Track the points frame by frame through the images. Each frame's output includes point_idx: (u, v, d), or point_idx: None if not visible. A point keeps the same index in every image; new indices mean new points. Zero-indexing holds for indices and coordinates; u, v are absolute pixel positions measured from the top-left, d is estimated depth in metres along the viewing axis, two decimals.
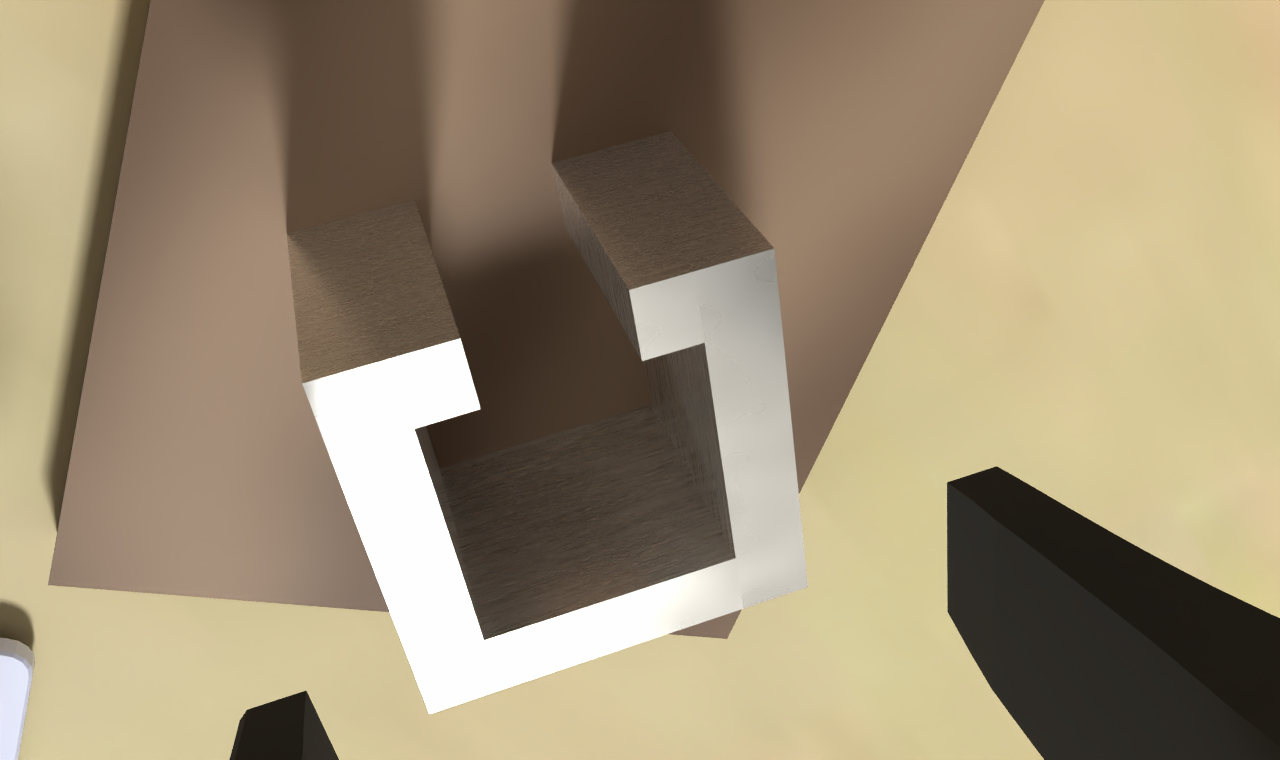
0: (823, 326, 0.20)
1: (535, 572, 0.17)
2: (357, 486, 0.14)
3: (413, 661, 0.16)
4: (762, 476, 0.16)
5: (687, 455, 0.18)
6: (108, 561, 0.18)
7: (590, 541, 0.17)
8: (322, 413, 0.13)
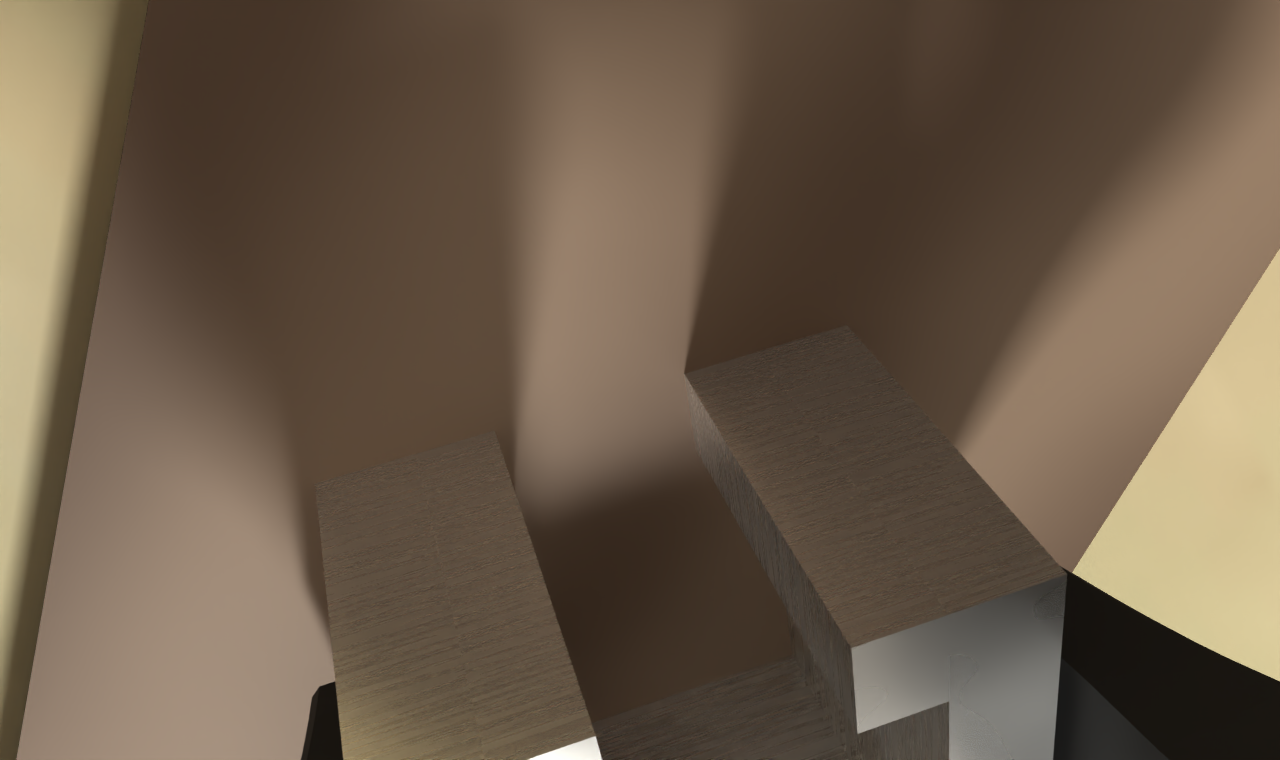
0: None
1: None
2: None
3: None
4: None
5: None
6: None
7: None
8: None
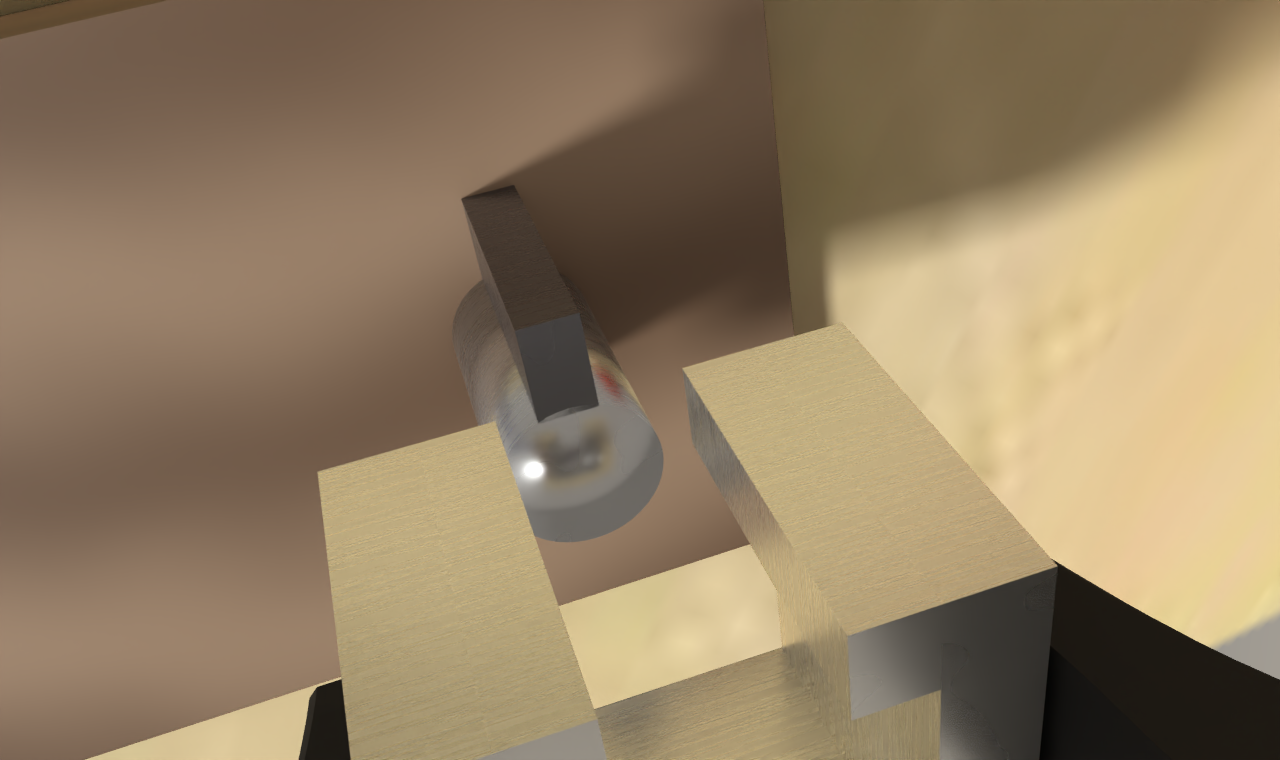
0: (32, 727, 0.20)
1: None
2: None
3: None
4: None
5: (850, 751, 0.13)
6: None
7: None
8: None
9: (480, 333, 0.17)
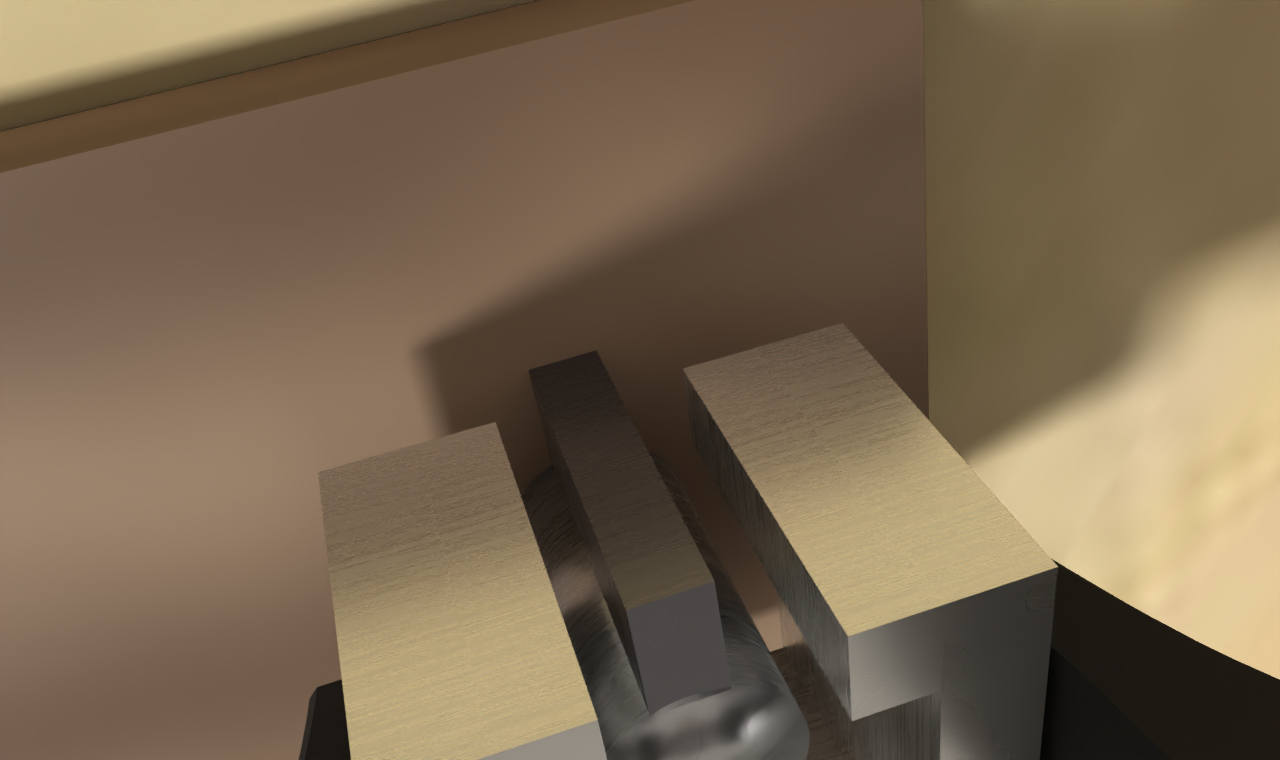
0: None
1: None
2: None
3: None
4: None
5: (850, 751, 0.13)
6: None
7: None
8: None
9: (554, 547, 0.13)
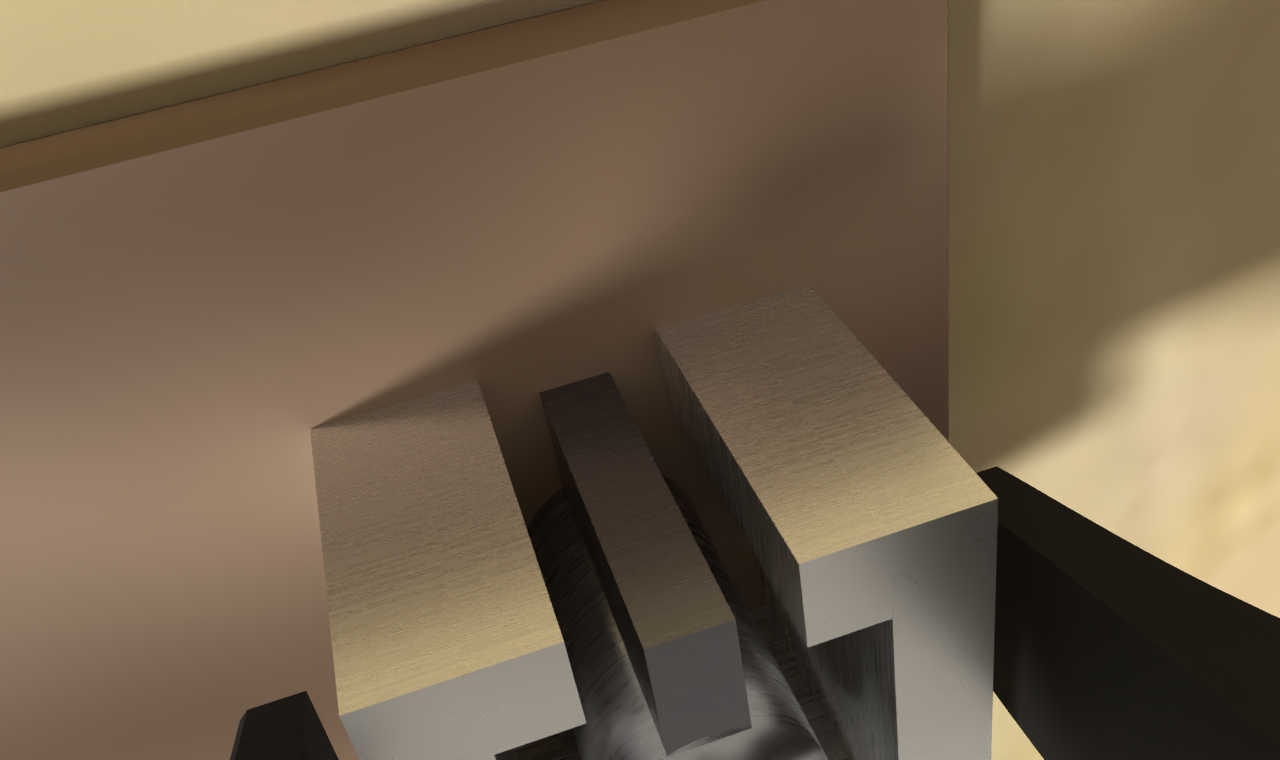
0: None
1: None
2: None
3: None
4: None
5: (824, 695, 0.14)
6: None
7: None
8: (367, 748, 0.09)
9: (566, 575, 0.13)
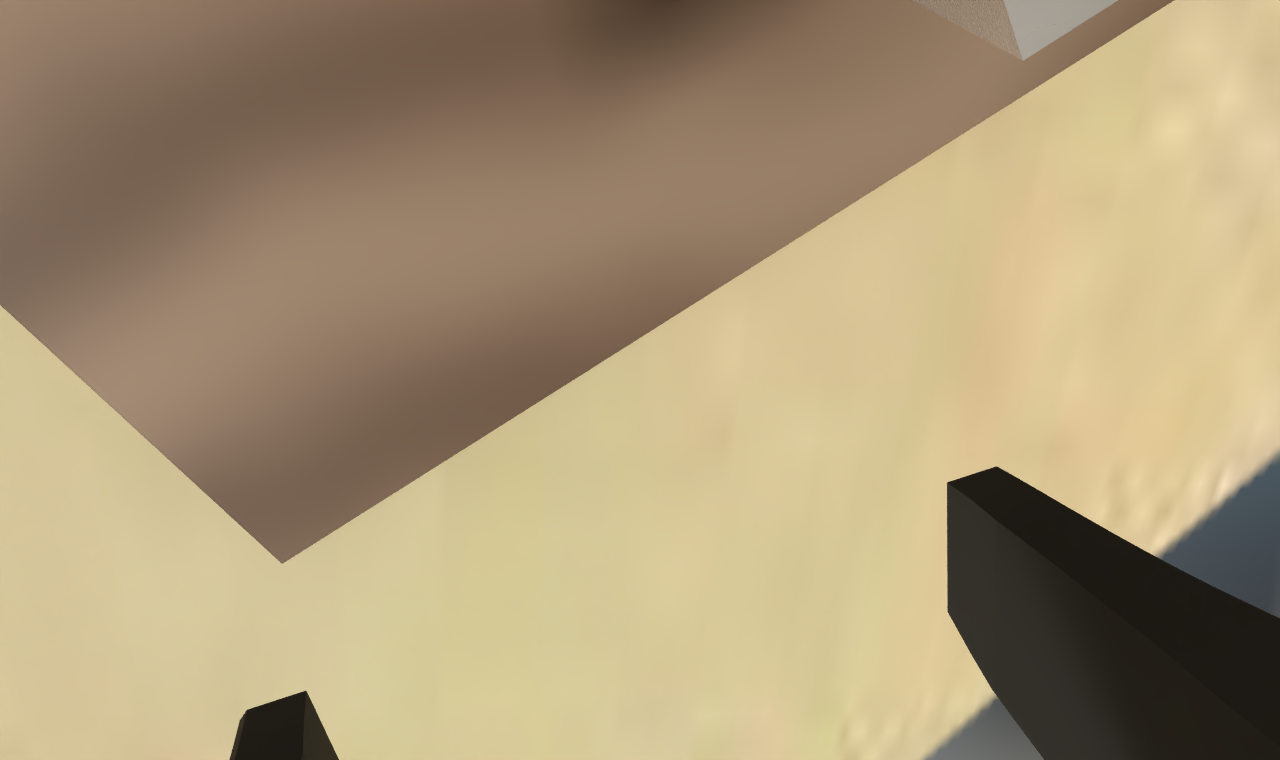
0: (578, 313, 0.20)
1: None
2: None
3: None
4: None
5: None
6: None
7: None
8: None
9: None
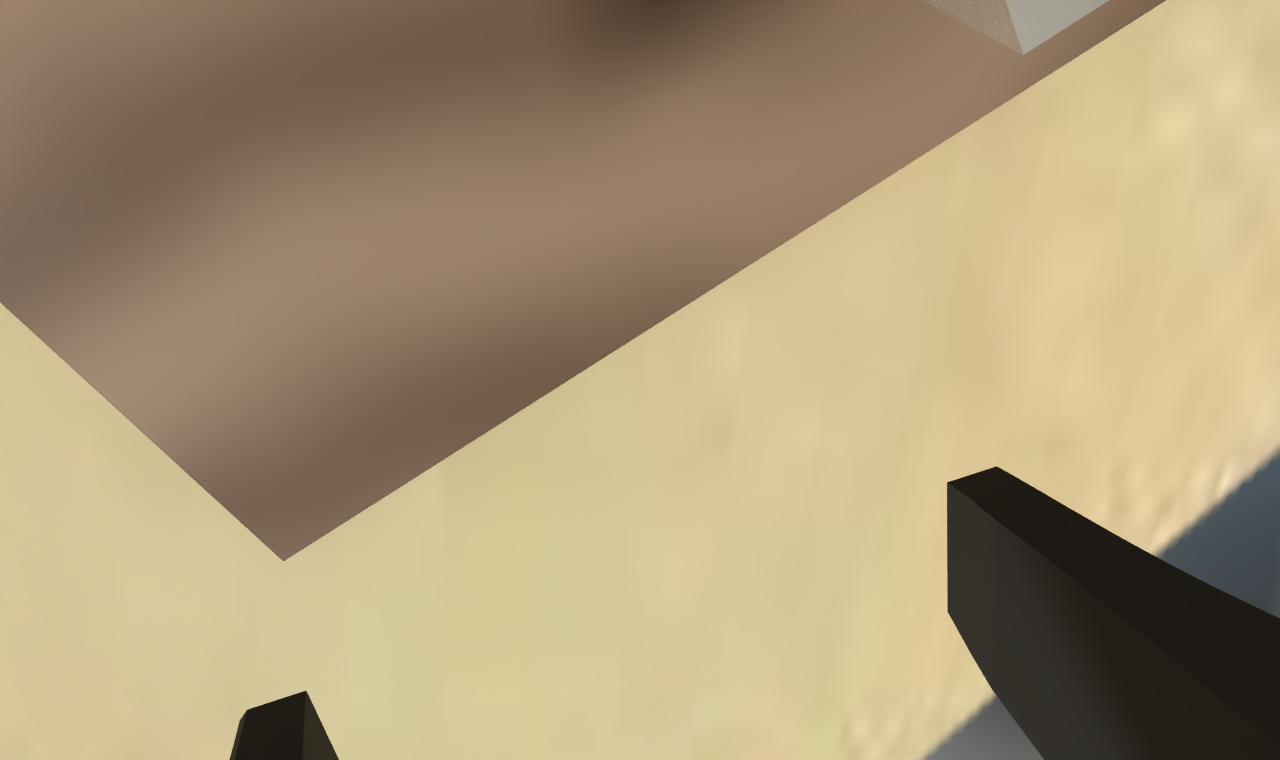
0: (579, 310, 0.20)
1: None
2: None
3: None
4: None
5: None
6: None
7: None
8: None
9: None
